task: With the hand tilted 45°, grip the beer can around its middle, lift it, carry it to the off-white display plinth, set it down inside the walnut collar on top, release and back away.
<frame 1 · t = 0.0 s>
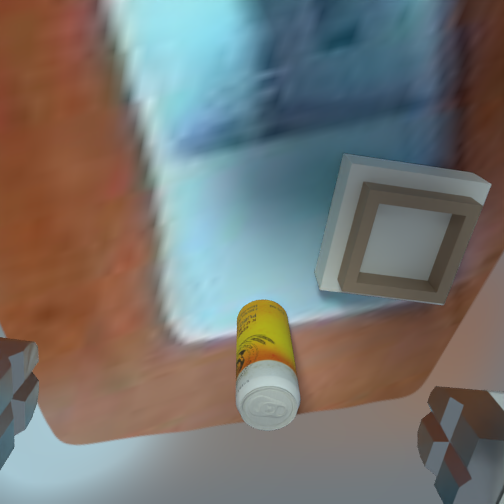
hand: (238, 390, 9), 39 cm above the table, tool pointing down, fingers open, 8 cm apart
beer can: (262, 316, 55), on the table
display plinth: (389, 224, 50), on the table
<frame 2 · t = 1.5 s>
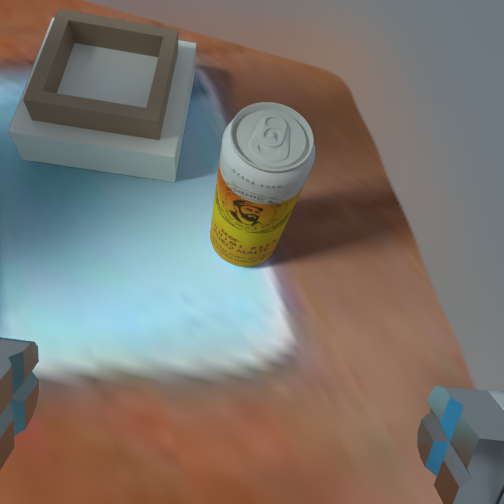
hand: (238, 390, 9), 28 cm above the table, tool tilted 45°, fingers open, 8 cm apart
beer can: (242, 240, 42), on the table
display plinth: (115, 113, 45), on the table
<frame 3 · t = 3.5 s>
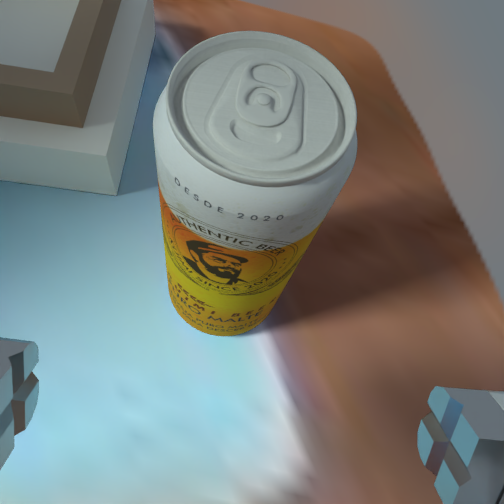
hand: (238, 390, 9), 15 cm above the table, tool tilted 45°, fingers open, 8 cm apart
beer can: (222, 288, 26), on the table
display plinth: (30, 90, 30), on the table
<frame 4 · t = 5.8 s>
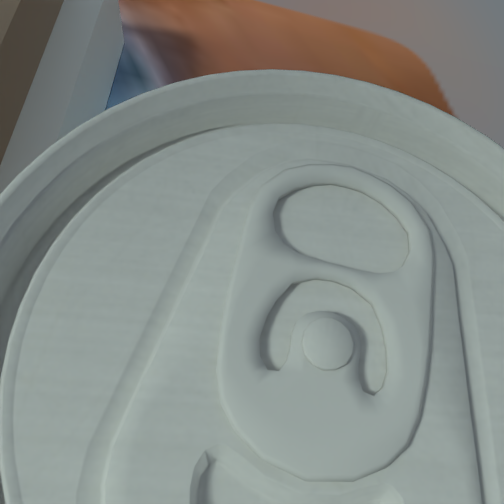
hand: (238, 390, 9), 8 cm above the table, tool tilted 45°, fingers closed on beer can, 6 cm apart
beer can: (213, 440, 17), on the table, touching gripper
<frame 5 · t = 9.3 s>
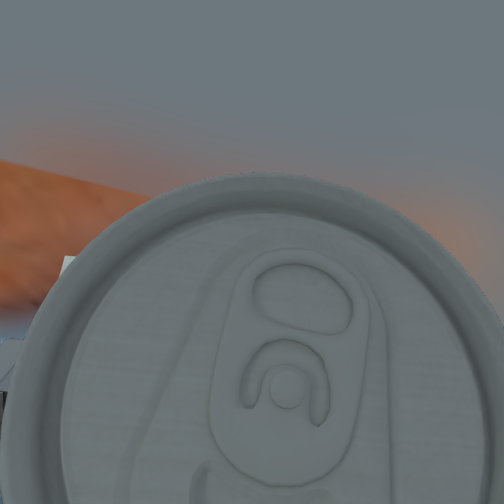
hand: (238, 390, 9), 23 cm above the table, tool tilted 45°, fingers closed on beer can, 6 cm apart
beer can: (212, 434, 18), point 12 cm above the table, touching gripper
when the fingers open (14 cm above the table, at t = 12.7 s): beer can stays where it is, resting on display plinth.
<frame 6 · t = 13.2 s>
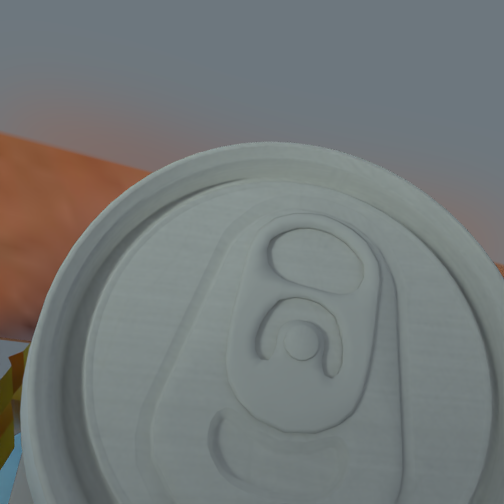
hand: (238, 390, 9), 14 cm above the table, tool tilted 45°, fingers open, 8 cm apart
beer can: (215, 432, 18), point 4 cm above the table, touching display plinth
display plinth: (207, 445, 22), on the table
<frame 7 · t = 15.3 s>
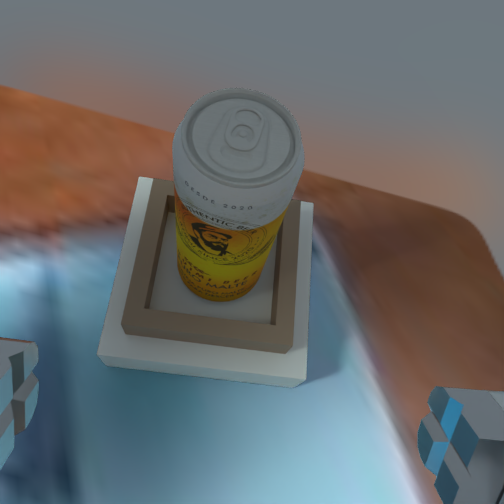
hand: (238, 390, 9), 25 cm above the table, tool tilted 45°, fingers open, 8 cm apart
beer can: (219, 267, 33), point 4 cm above the table, touching display plinth
display plinth: (213, 289, 37), on the table
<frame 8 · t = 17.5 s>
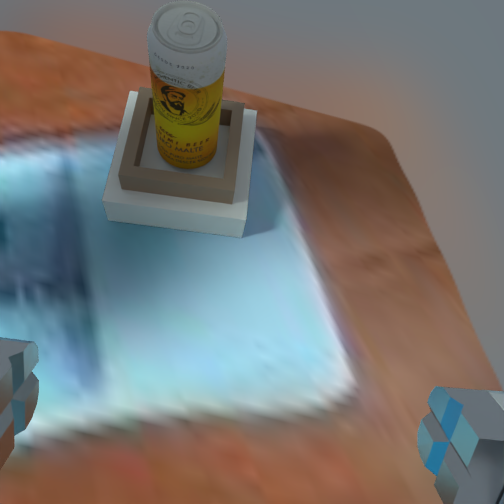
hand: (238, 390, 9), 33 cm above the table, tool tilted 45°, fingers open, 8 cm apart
beer can: (187, 150, 47), point 4 cm above the table, touching display plinth
display plinth: (185, 174, 51), on the table
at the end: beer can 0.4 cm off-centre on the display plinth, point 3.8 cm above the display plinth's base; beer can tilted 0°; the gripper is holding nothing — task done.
